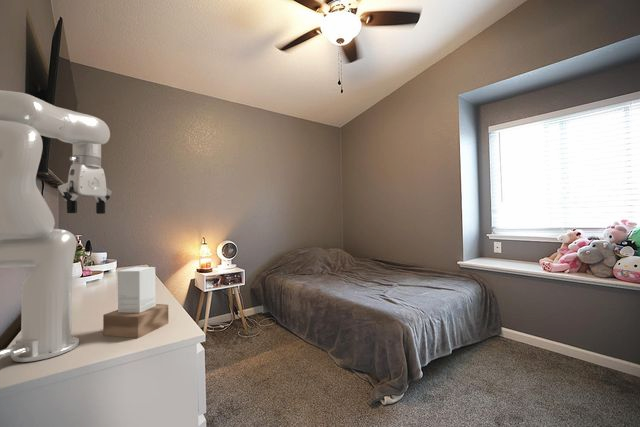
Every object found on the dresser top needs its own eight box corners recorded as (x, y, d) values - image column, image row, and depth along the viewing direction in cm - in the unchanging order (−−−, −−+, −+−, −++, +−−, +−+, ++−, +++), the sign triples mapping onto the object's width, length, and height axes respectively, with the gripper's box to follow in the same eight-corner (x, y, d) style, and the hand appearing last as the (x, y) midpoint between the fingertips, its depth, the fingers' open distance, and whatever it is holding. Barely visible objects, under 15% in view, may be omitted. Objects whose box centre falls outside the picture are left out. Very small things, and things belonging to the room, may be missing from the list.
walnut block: (138, 338, 82) (137, 317, 82) (103, 335, 84) (103, 314, 84) (168, 323, 94) (168, 304, 94) (137, 321, 96) (137, 303, 96)
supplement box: (156, 306, 92) (156, 266, 92) (139, 313, 85) (139, 270, 85) (135, 305, 93) (135, 266, 93) (116, 313, 86) (116, 270, 86)
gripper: (69, 157, 88) (68, 212, 88) (119, 167, 105) (119, 213, 105) (49, 158, 90) (49, 213, 90) (102, 168, 107) (102, 214, 107)
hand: (87, 213), depth 97 cm, fingers open, 9 cm apart
